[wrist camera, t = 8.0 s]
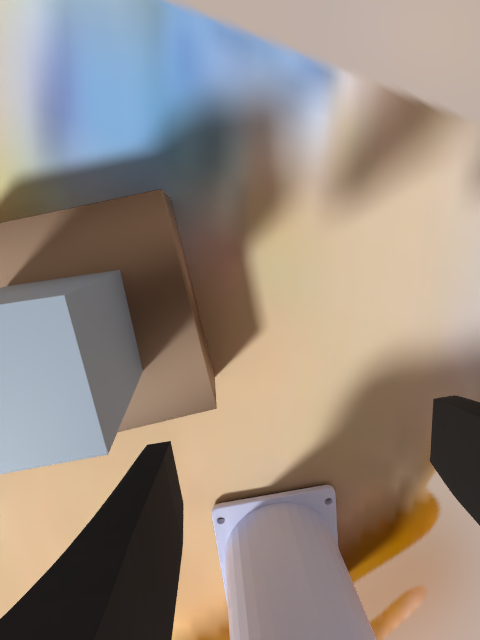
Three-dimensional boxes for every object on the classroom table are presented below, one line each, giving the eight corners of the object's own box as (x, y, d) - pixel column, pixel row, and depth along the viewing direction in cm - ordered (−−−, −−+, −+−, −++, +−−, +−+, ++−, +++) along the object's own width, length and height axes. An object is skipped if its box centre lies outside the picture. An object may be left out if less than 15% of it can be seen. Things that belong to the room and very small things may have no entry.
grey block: (142, 371, 15) (107, 454, 10) (38, 388, 15) (-65, 486, 9) (120, 269, 14) (64, 295, 8) (5, 286, 14) (-136, 324, 8)
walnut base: (214, 374, 20) (216, 408, 16) (45, 414, 20) (6, 458, 16) (170, 198, 17) (160, 189, 13) (-27, 240, 17) (-95, 243, 13)
